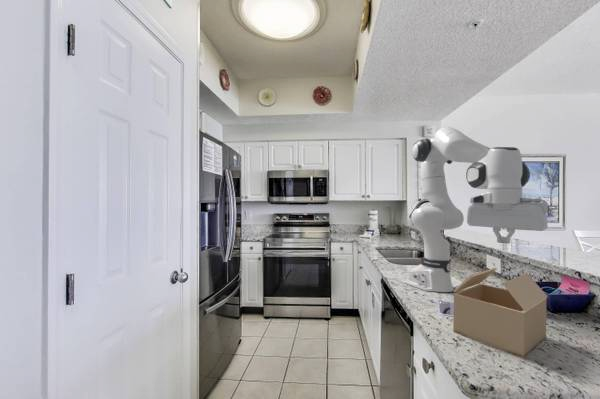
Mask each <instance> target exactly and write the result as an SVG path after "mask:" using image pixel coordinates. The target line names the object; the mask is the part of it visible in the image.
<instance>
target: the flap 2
mask: <svg viewBox="0 0 600 399" xmlns="http://www.w3.org/2000/svg"><path fill="white" fill-rule="evenodd" d="M502 285H503V287H504V289H506V290H508V291H509V292H510V294H511V295H512V296H513V297H514V299H515V300H516V301H517V302H518V304H519V305H520V306H521V307H522V309H523V310H524V311H527V310H528V309H530V308H531V307H533V306H534V305H536V304H538V303H539V302H541V301H542V300H544V299H545V298H546V299H547V298H548V295H547V294H546V293H545V292H544V290H543V289H542V288H541V287H540V286H539V285H538V284H537V283H536V281H535V280H534V279H533V278H532V277H531V275H529V273H527V272H525V273H524V274H521V275H519V276H516V277H514V278H512V279H509V280H507V281H504V282H502Z"/></svg>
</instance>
